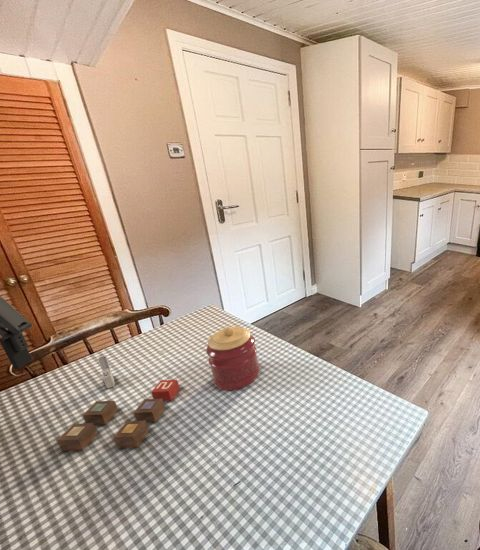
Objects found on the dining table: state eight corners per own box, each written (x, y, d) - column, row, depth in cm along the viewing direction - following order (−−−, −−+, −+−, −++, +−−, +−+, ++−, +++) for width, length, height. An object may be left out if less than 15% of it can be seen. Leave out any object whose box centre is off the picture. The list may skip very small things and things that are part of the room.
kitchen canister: (222, 400, 83) (209, 346, 77) (208, 375, 92) (196, 326, 86) (267, 378, 91) (259, 328, 85) (250, 358, 100) (242, 311, 94)
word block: (63, 453, 69) (56, 440, 67) (79, 436, 73) (73, 423, 71) (84, 452, 69) (77, 439, 67) (99, 435, 73) (93, 422, 72)
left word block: (87, 427, 75) (81, 415, 74) (101, 413, 79) (96, 401, 78) (106, 426, 75) (101, 414, 74) (119, 412, 80) (114, 400, 78)
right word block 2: (137, 424, 76) (133, 412, 74) (148, 410, 80) (144, 398, 78) (156, 424, 76) (151, 411, 75) (166, 409, 80) (162, 398, 79)
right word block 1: (118, 450, 69) (112, 437, 68) (131, 433, 74) (126, 420, 72) (138, 449, 70) (133, 436, 68) (150, 432, 74) (145, 420, 72)
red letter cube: (155, 403, 82) (150, 391, 81) (164, 391, 87) (160, 380, 85) (172, 402, 83) (168, 390, 81) (180, 390, 87) (177, 379, 85)
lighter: (115, 387, 88) (106, 365, 85) (107, 390, 87) (98, 367, 84) (113, 375, 93) (105, 353, 90) (106, 377, 92) (97, 355, 89)
